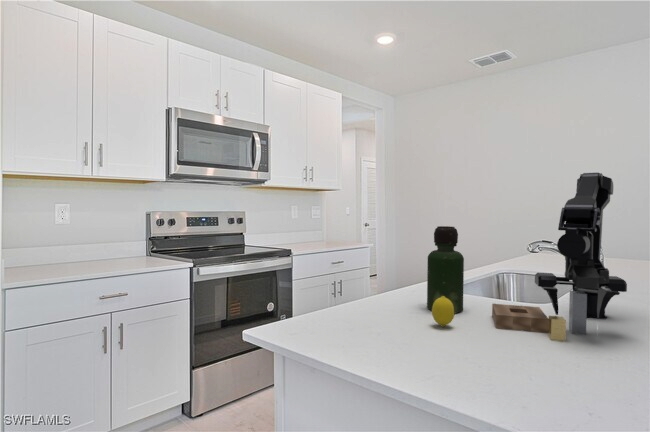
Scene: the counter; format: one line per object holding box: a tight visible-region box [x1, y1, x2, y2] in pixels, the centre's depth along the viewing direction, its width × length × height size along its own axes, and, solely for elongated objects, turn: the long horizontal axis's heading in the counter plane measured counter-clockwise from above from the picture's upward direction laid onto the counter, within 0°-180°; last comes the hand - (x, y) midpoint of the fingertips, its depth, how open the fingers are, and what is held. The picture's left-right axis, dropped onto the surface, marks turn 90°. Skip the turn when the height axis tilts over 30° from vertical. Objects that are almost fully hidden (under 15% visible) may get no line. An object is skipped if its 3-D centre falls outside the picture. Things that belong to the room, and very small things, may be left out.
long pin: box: [568, 290, 587, 335], centre depth 101 cm, size 3×3×10 cm
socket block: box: [491, 303, 549, 334], centre depth 108 cm, size 12×12×4 cm
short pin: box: [547, 315, 567, 342], centre depth 96 cm, size 3×3×5 cm
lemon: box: [431, 296, 455, 328], centre depth 105 cm, size 6×6×8 cm
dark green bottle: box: [426, 225, 465, 314], centre depth 122 cm, size 10×10×25 cm
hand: (577, 316), depth 101 cm, fingers open, 9 cm apart
